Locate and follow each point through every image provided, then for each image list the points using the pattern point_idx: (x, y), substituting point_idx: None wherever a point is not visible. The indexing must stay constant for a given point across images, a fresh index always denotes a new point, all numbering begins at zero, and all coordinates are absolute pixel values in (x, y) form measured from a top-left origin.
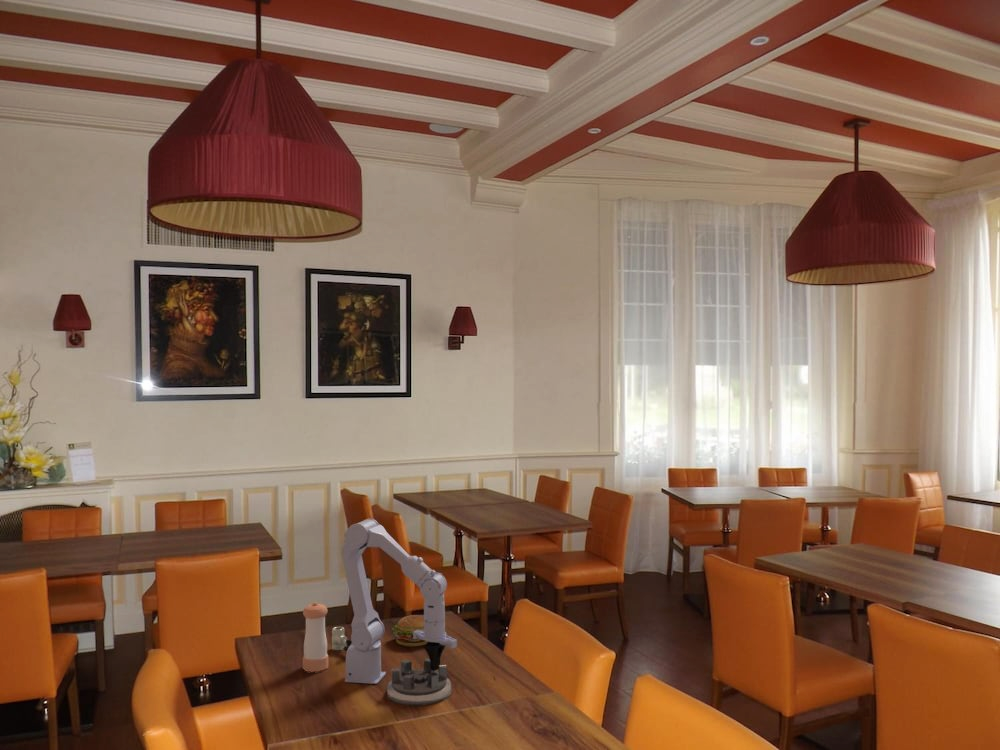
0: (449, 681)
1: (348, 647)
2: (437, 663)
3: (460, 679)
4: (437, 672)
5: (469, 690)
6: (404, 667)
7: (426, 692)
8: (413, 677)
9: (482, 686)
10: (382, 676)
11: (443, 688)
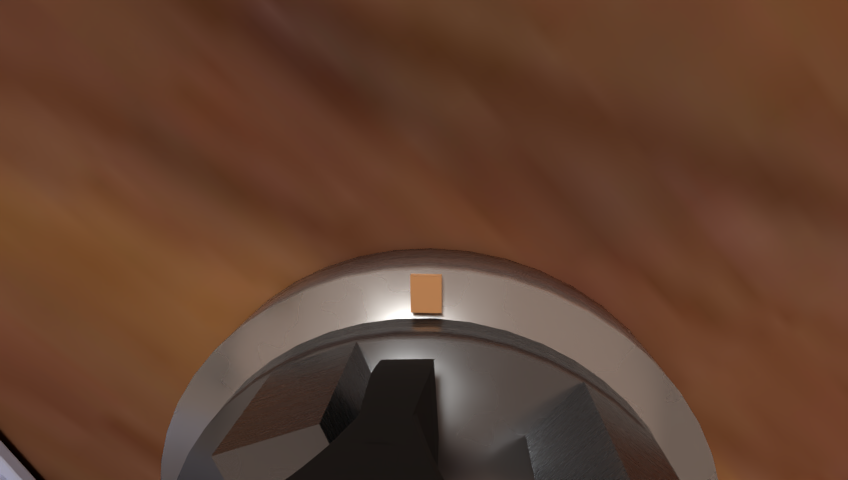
0: (605, 335)
1: None
2: (429, 437)
3: (516, 67)
4: (437, 370)
5: (769, 216)
6: None
7: None
8: None
9: (837, 52)
10: (14, 471)
11: None
